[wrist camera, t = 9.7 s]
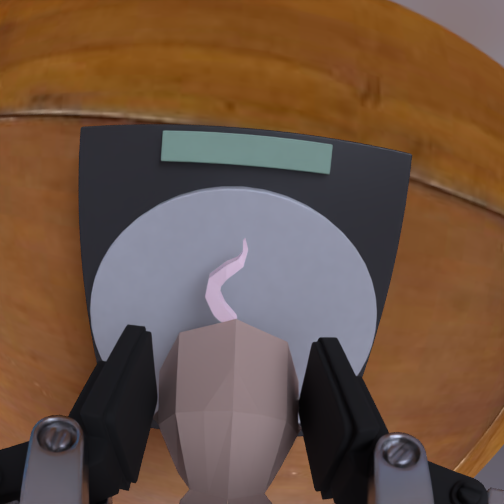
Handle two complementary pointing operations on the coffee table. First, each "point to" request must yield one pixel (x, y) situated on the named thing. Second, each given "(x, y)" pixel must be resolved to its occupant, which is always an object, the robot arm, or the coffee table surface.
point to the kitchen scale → (238, 233)
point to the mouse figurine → (228, 403)
